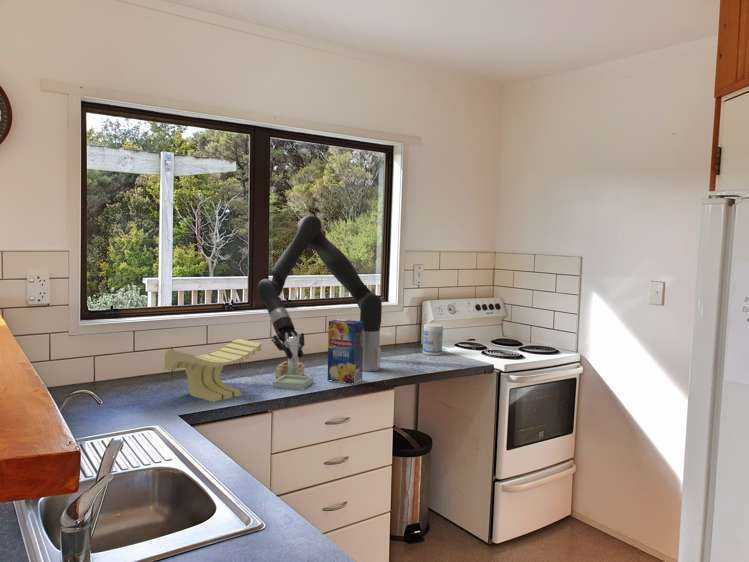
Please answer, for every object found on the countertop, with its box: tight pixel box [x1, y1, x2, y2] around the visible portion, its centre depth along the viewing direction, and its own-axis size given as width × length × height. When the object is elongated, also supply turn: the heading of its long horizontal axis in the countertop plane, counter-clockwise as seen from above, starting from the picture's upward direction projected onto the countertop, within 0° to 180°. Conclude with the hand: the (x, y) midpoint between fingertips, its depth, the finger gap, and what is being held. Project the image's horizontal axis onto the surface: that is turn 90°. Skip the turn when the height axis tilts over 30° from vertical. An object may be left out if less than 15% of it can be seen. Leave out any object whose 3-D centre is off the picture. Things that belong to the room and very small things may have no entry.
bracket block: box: [275, 361, 305, 379], centre depth 251 cm, size 9×9×5 cm
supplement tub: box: [422, 323, 444, 357], centre depth 305 cm, size 10×10×15 cm
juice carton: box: [327, 318, 364, 385], centre depth 246 cm, size 12×8×24 cm, turn 65°
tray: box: [272, 375, 314, 390], centre depth 238 cm, size 12×12×2 cm
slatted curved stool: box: [164, 338, 262, 402], centre depth 222 cm, size 30×16×18 cm, turn 141°
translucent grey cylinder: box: [287, 336, 300, 374], centre depth 238 cm, size 4×4×14 cm
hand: (296, 357), depth 236 cm, fingers closed on translucent grey cylinder, 4 cm apart
